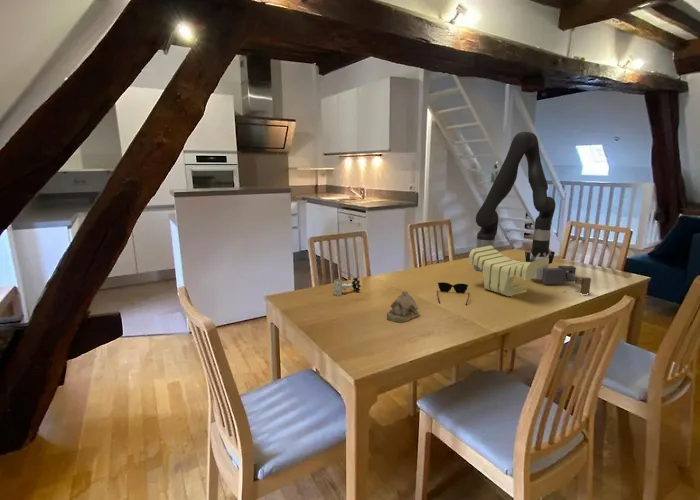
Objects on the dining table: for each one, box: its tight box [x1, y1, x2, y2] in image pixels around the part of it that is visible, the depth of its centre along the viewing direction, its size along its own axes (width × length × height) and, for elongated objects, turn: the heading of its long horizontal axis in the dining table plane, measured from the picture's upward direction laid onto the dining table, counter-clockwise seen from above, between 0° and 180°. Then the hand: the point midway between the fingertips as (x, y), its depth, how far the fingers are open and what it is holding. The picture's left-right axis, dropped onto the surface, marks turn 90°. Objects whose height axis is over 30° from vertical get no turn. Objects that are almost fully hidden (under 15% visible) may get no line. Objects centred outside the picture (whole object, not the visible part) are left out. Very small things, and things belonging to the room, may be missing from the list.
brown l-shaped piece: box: [557, 265, 592, 294], centre depth 186 cm, size 10×21×8 cm, turn 2°
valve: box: [332, 277, 362, 297], centre depth 182 cm, size 7×7×12 cm
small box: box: [530, 254, 549, 280], centre depth 195 cm, size 8×6×10 cm
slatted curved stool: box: [468, 245, 550, 297], centre depth 182 cm, size 30×16×18 cm, turn 33°
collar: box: [541, 265, 577, 285], centre depth 190 cm, size 14×3×8 cm, turn 92°
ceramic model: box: [386, 290, 421, 323], centre depth 155 cm, size 14×11×10 cm
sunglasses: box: [436, 281, 470, 306], centre depth 174 cm, size 14×16×5 cm
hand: (537, 271), depth 196 cm, fingers closed on small box, 5 cm apart
